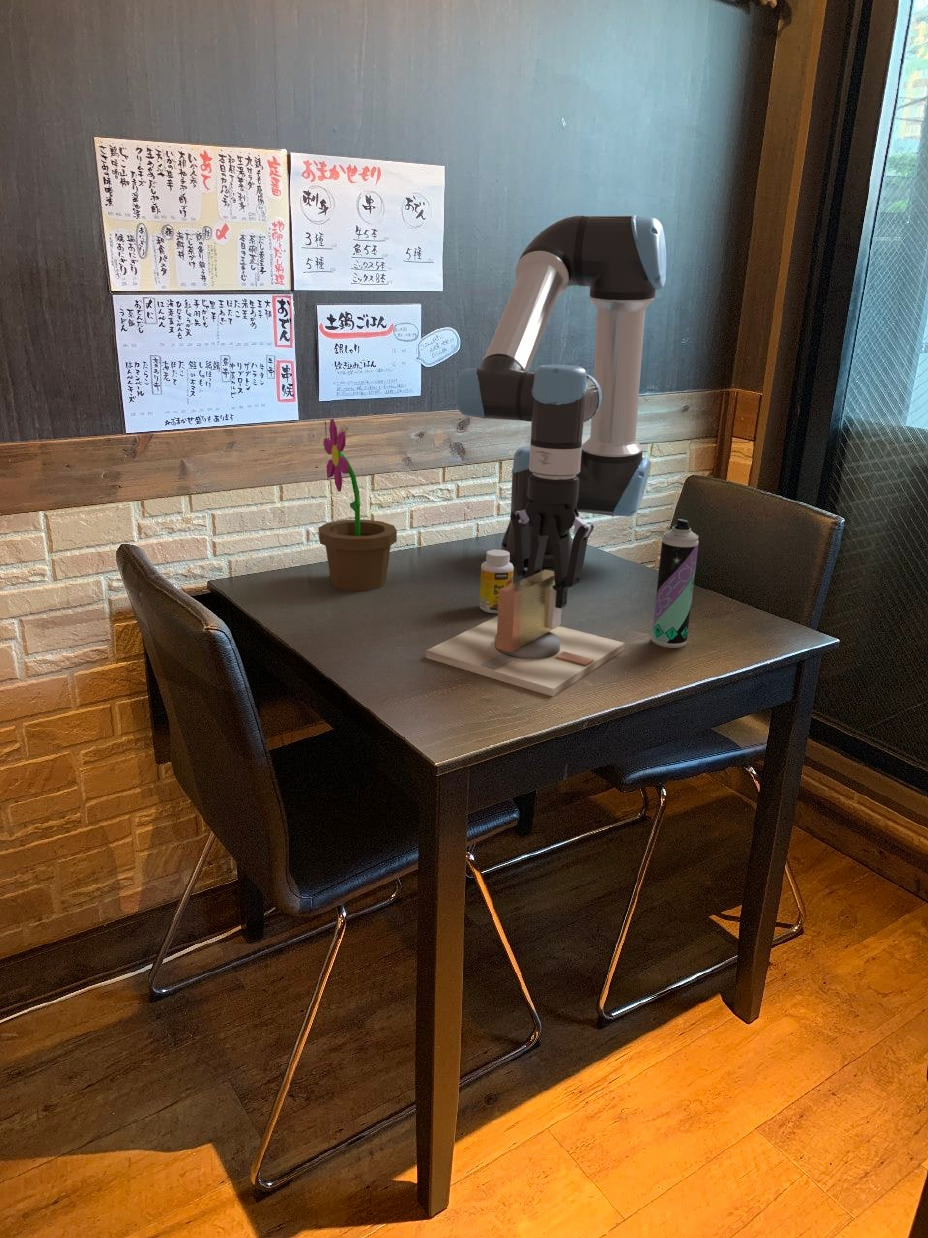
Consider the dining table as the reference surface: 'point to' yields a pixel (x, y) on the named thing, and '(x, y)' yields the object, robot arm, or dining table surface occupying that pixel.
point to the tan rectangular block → (524, 611)
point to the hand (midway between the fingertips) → (544, 623)
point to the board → (528, 657)
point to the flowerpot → (354, 533)
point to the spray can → (675, 586)
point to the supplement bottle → (494, 578)
